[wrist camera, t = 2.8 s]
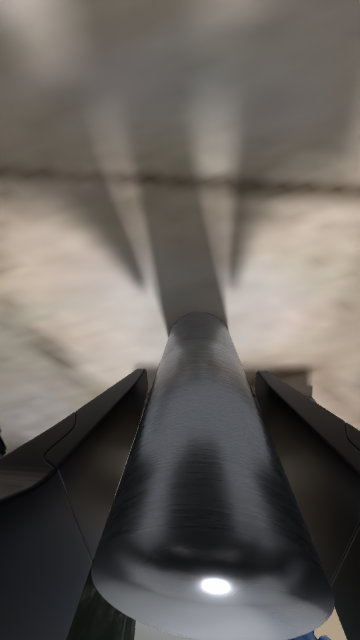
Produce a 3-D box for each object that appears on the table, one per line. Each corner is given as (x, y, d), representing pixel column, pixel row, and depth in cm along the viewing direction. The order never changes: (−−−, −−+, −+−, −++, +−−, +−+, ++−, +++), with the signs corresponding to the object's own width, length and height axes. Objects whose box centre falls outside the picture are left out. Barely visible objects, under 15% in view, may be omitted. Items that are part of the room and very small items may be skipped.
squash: (78, 664, 22) (13, 1160, 8) (-38, 607, 20) (-358, 1094, 7) (149, 522, 27) (182, 671, 14) (62, 468, 26) (1, 577, 12)
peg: (171, 365, 13) (111, 627, 4) (167, 312, 12) (65, 517, 3) (228, 366, 13) (308, 657, 4) (230, 311, 12) (368, 546, 2)
